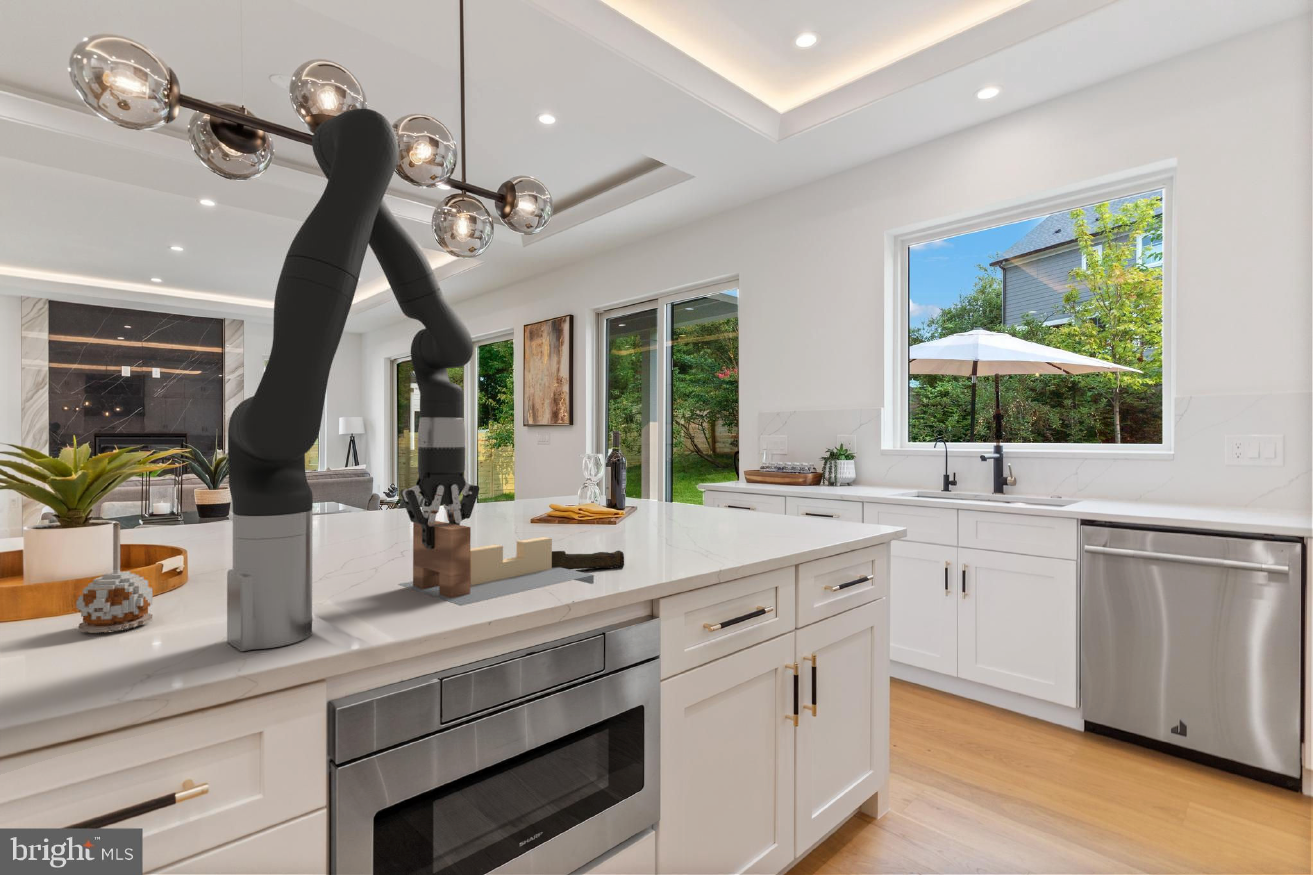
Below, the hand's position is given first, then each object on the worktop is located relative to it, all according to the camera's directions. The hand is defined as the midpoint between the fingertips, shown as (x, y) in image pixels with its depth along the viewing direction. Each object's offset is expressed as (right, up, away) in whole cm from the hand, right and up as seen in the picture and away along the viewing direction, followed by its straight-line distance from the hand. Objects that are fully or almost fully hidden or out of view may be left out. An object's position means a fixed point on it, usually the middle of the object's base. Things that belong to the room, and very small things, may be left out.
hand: (441, 546), depth 105 cm
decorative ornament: (-41, -9, -16) cm, 45 cm away
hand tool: (+21, -9, +21) cm, 31 cm away
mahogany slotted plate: (0, -7, 0) cm, 7 cm away
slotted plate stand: (+8, -9, +8) cm, 14 cm away
